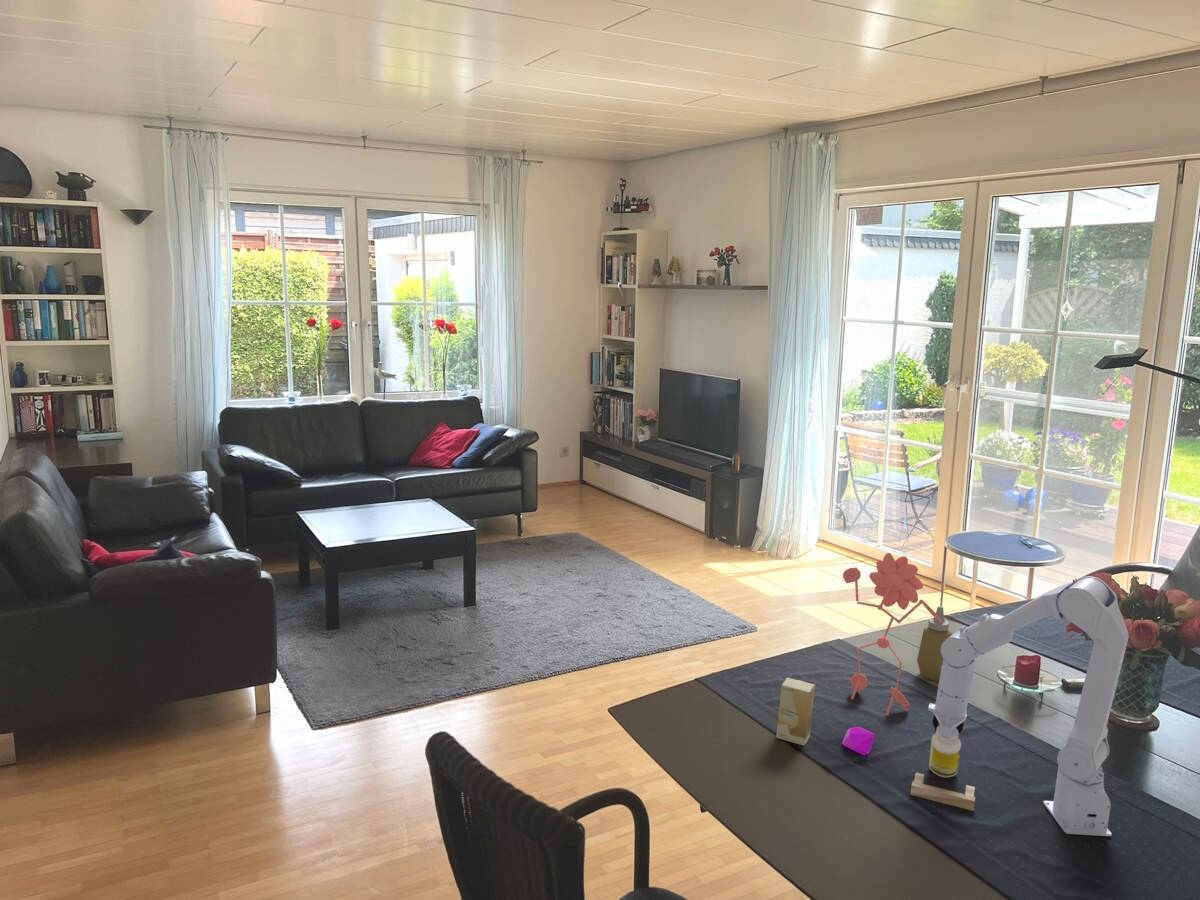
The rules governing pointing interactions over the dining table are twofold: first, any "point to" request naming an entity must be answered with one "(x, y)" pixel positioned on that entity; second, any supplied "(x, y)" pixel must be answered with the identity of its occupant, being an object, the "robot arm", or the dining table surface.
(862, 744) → the crystal
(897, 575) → the figurine
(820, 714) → the dining table surface
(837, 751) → the dining table surface
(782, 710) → the skincare box
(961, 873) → the dining table surface
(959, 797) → the u rest
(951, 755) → the supplement bottle
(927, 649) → the squeeze bottle
